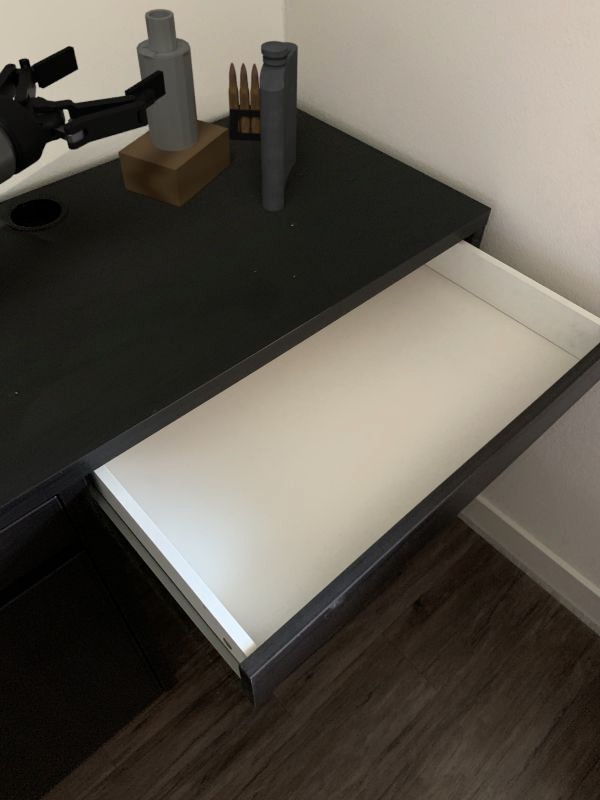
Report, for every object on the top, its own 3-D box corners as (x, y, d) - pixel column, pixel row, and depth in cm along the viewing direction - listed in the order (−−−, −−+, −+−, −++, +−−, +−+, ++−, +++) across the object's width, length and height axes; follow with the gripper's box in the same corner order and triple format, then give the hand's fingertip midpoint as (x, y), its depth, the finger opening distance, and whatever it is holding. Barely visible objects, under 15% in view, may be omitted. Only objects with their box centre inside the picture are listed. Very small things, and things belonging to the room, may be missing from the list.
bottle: (141, 144, 97) (120, 17, 84) (169, 124, 101) (153, 0, 88) (181, 156, 95) (165, 28, 82) (207, 135, 99) (197, 10, 86)
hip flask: (282, 212, 97) (282, 71, 82) (254, 210, 97) (250, 69, 82) (297, 157, 107) (299, 23, 92) (272, 155, 107) (270, 21, 92)
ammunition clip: (229, 139, 111) (225, 64, 102) (230, 133, 112) (226, 59, 103) (293, 142, 111) (294, 67, 101) (293, 136, 112) (295, 62, 103)
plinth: (125, 189, 100) (118, 151, 95) (178, 148, 108) (173, 112, 104) (180, 207, 97) (175, 169, 93) (230, 164, 105) (228, 128, 101)
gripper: (-80, 146, 76) (46, 77, 89) (92, 208, 69) (203, 123, 82) (-109, 80, 71) (31, 16, 83) (76, 139, 63) (198, 60, 76)
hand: (117, 69), depth 82 cm, fingers open, 13 cm apart
